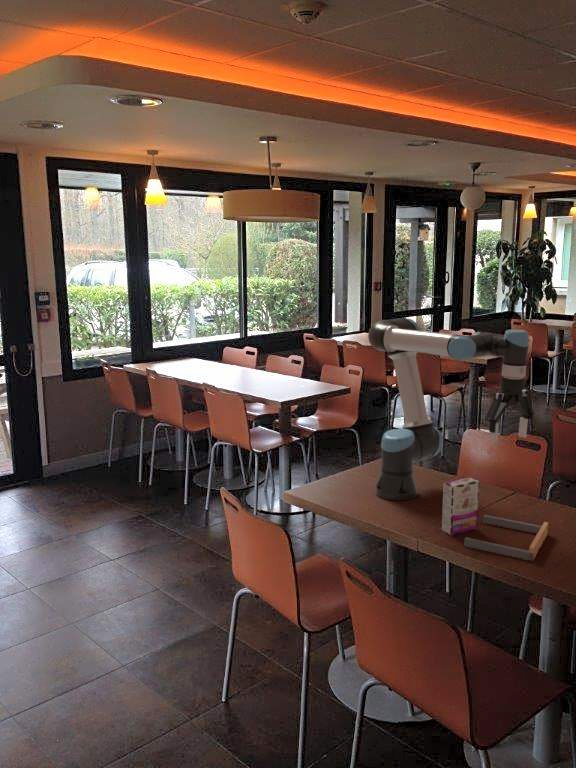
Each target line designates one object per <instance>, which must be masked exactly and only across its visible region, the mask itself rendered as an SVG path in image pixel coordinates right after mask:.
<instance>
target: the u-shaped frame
mask: <svg viewBox="0 0 576 768" xmlns="http://www.w3.org/2000/svg"><path fill="white" fill-rule="evenodd" d="M482 523H483V524H487V525H493V526H496V525H497V526H496V527H501V526H502V528H506V529H512V530H517V531H520V532H521V531H522V532H527V533H532V534H535V537H534V538H533V540H532V541H531V543H530V545H529V547H528V550H526V549H523V548H517V547H513V546H508V545H503V544H499V543H494V542H489V541H485V540H481V539H475V538H471V537H466V536H465V538H464V545H463V546H464V547H467V548H471V549H476V550H479V551H480V550H481V551H485V552H490V553H494V554H498V555H504V556H507V557H511V556H512V557H513V558H516V557H517V558H516V559H520V558H521V559H520V560H525V561H529V560H530V561H531V562H534V560H535V558H536V556H537V554H538V552H539V551H540V549H539V548H541V547H542V545H543V544H544V542H543V541H545V539H546V538H547V536H548V533H549V532H548V530H549V522H548V521H547V522H546V521H544V522H543V524H542V525H539V524H538V525H537V524H532V523H528V522H522V521H519V520H512V519H507V518H503V517H497V516H493V515H487V514H484V515H483V520H482ZM538 550H539V551H538Z"/></svg>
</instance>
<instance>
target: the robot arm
mask: <svg viewBox="0 0 576 768" xmlns="http://www.w3.org/2000/svg"><path fill="white" fill-rule="evenodd" d="M367 337H368V342H369V344H370V345H371V347H372V348H373V349H375V350H377V351H379V352H386V353H387V356H388V358H390V359H391V360H392V361H393V367H394V371H395V372H394V373H395V376H396V382H397V386H398V393H399V397H400V403H401V407H402V411H403V416H404V417H403V418H404V424H403V425H402V426H401V428H394V429H389V430H387V431H386V432H384V433H383V435H382V438H381V444H380V447H381V449H380V450H381V451H380V452H381V454H380V455H381V456H380V460H381V461H380V474H379V476H378V479H377V482H376V485H375V494H376V496H377V497H380V498H381V499H385V500H390V501H408V500H409V501H410V500H412V499H414V498H416V497H417V496H418V487H417V485H416V481H415V477H414V464H415V463H417V462H421V461H423V460H429V459H431V458H433V457H436V456H437V455H438V454H439V453H440V452H441V450H442V448H443V440H444V439H443V435H442V432H440V430H438V428H437V427H435V426H434V421H433V420H431V419H430V418H428V413H427V408H426V402H425V395H424V390H423V388H422V382H421V378H420V377H421V376H420V372H419V366H418V362H417V361H418V360H417V354H419V353H421V354H428V355H436V356H443V357H444V356H445V357H451V358H453V359H454V360H457V361H467V360H470V359H476V358H483V357H490V356H491V357H495V358H496V357H497V358H502V366H501V378H500V388H501V389H502V391H501V393H500V392H496V391H495V392H494V394H493V399H492V402H491V403H490V406H489V408H488V410H487V414H486V416H485V417H484V420H485V421H486V422H489V428H488V429H489V430H488V431H489V440H488V441H489V442H492V443H494V444H497V443H498V438H499V437H498V435H499V425H500V424H499V423H498V422H499V420H500V418H501V416H502V415H503V414H504V413H505V411H506V410H507V408H508V407H509V408H510V407H511V406H513V405H514V406H515V407H516V408H517V410H518V411H519V413H520V416H521V417H519V424H518V425H519V426H518V437H521V438H525V439H526V438H527V431H528V427H529V420H531V419H532V418H533V417H534V415H535V412H534V409H533V406H532V402H531V398H530V390H528V389H526V385H525V384H526V379H525V377H526V373H527V365H528V364H527V360H528V354H529V352H528V351H529V346H530V344H529V342H530V334H529V331H526V330H524V329H507V330H505V332H504V334H499V333H492V332H487V331H477V332H474V334H472V335H471V334H470V335H465V334H464V335H463V334H455V333H444V332H436V331H434V332H433V331H424V330H421V327H420V325H419V324H418V323H417V322H416V321H414V320H413V319H412V318H403V317H399V318H393V319H380V320H378V321H376V322H374V323H373V324H372V325H371V327H370V328H369V330H368V335H367Z"/></svg>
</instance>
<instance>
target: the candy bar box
mask: <svg viewBox="0 0 576 768" xmlns="http://www.w3.org/2000/svg"><path fill="white" fill-rule="evenodd" d="M479 492H480V480H477V479H475V478H473V477H471V476H470V477H463V478H459V479H454V480H449V481H445V482H443V486H442V512H441V513H442V515H441V531H442V532H444V533H446V534H448V535H450V536H455V535H460V534H463V533H467V532H470V531H475V530H478V524H479V521H478V519H479V496H480V493H479Z"/></svg>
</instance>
